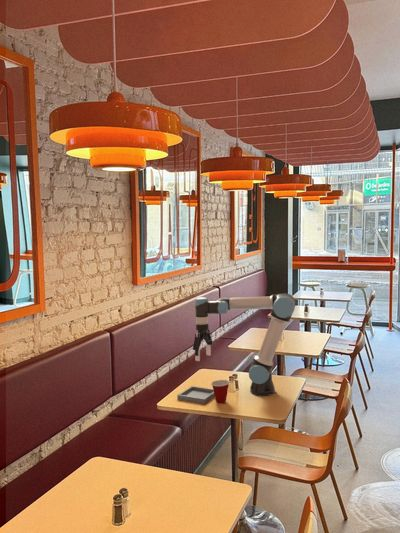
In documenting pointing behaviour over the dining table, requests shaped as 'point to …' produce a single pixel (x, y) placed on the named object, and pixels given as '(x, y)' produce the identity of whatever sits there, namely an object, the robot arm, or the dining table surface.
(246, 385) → the dining table surface
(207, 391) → the tray
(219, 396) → the plastic cup
